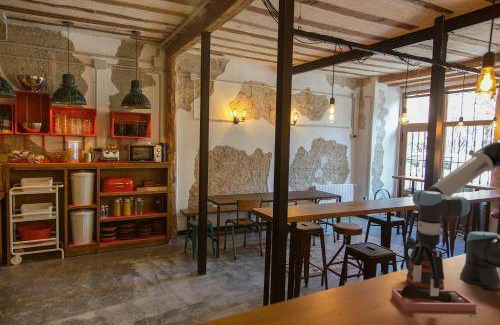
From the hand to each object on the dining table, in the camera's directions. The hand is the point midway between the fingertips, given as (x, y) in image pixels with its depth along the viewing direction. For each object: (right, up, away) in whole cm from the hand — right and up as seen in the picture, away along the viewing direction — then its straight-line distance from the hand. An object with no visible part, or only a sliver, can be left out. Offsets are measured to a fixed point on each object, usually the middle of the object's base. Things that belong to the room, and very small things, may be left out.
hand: (425, 288), depth 129 cm
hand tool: (0, -5, 0) cm, 5 cm away
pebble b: (+12, -6, -1) cm, 14 cm away
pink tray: (+3, -7, +1) cm, 7 cm away
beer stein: (+6, -6, +17) cm, 19 cm away
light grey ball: (+12, -6, +3) cm, 14 cm away
